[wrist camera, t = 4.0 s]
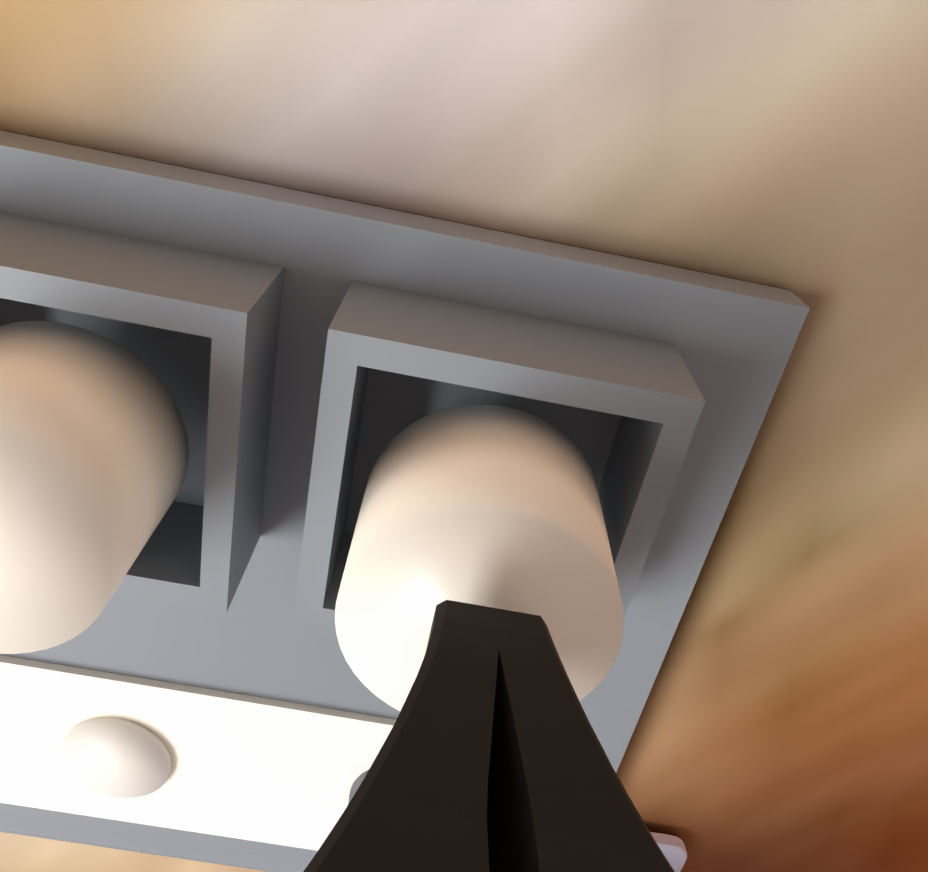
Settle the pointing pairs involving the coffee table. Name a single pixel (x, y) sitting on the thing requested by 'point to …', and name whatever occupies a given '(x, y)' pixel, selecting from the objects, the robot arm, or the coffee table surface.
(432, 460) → the button
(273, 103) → the coffee table surface
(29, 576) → the button middle
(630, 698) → the console
